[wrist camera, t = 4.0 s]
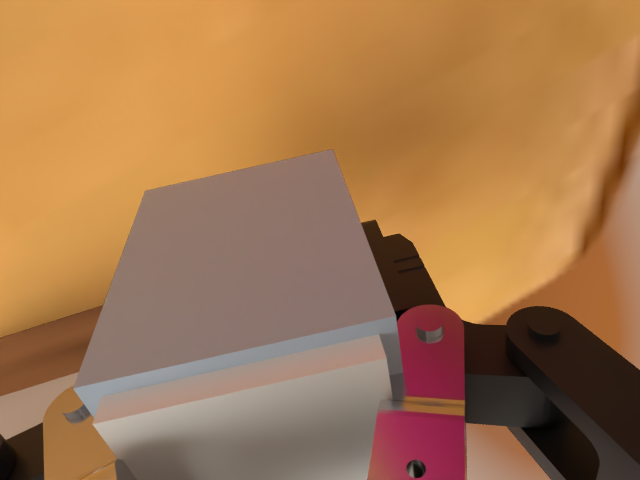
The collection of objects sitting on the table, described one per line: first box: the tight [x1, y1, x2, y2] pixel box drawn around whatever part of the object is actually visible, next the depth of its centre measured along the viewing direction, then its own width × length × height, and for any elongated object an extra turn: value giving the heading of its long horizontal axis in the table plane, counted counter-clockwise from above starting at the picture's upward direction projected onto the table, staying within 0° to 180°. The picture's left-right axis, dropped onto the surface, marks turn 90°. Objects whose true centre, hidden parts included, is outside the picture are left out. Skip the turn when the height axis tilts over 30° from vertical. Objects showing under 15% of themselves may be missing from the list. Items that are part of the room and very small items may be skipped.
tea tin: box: [73, 149, 403, 480], centre depth 11 cm, size 5×5×7 cm
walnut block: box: [0, 306, 103, 440], centre depth 21 cm, size 9×9×4 cm
